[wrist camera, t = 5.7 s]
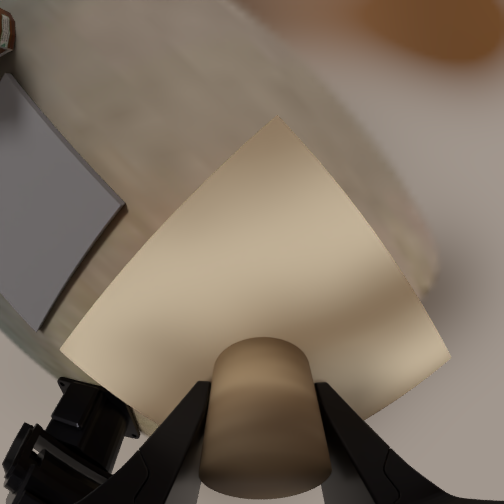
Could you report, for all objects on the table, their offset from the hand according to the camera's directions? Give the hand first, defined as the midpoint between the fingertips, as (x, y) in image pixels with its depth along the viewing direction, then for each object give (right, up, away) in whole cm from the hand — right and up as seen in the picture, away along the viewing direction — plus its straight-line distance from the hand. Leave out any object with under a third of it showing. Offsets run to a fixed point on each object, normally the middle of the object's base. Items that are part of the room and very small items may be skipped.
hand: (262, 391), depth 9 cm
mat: (-16, +7, +6) cm, 18 cm away
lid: (0, +1, +2) cm, 2 cm away
